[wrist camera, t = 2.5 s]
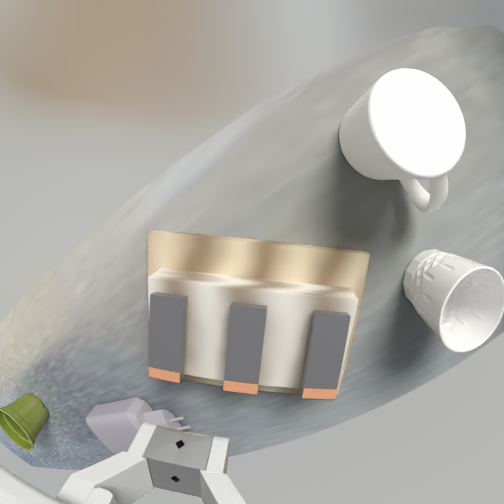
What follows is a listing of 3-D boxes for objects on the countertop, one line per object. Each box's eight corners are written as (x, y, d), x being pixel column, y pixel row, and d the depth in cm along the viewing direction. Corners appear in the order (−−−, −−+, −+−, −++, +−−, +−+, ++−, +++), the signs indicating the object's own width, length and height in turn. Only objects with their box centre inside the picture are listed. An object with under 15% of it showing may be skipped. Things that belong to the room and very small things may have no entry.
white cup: (429, 321, 31) (471, 364, 21) (384, 291, 30) (422, 332, 21) (465, 266, 29) (517, 293, 19) (423, 229, 29) (475, 248, 19)
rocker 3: (346, 312, 25) (350, 316, 24) (331, 392, 26) (334, 400, 24) (313, 309, 26) (315, 314, 24) (300, 391, 26) (302, 399, 24)
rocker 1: (187, 296, 26) (182, 299, 25) (183, 377, 27) (179, 384, 25) (155, 291, 26) (149, 294, 25) (154, 371, 27) (149, 377, 25)
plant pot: (17, 376, 39) (-10, 399, 31) (54, 403, 39) (28, 431, 31) (22, 407, 41) (-1, 430, 33) (57, 432, 41) (36, 458, 33)
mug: (427, 54, 16) (499, 192, 17) (385, 89, 26) (441, 188, 28) (344, 93, 17) (429, 246, 19) (322, 123, 27) (383, 226, 29)
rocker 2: (267, 305, 26) (267, 309, 24) (257, 387, 26) (257, 395, 25) (232, 301, 26) (230, 305, 24) (225, 383, 26) (223, 391, 25)
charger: (208, 432, 37) (131, 443, 39) (173, 385, 35) (97, 402, 38) (201, 456, 32) (120, 462, 35) (162, 407, 31) (83, 420, 33)
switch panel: (365, 251, 30) (383, 265, 24) (335, 387, 33) (343, 418, 28) (153, 230, 31) (129, 239, 25) (157, 367, 35) (140, 393, 29)
